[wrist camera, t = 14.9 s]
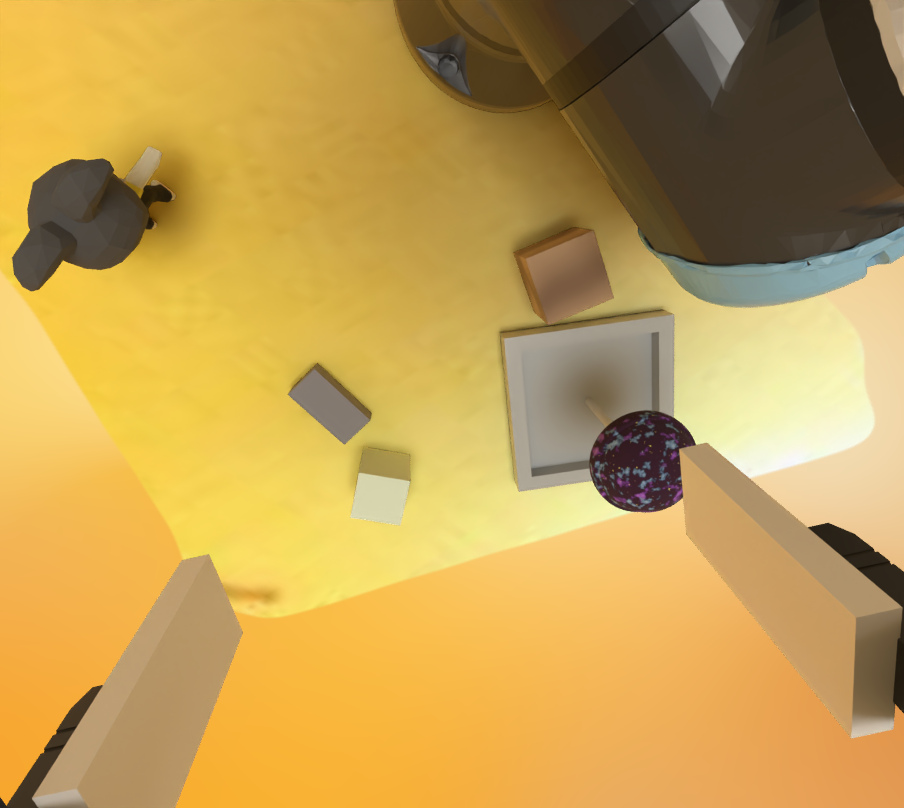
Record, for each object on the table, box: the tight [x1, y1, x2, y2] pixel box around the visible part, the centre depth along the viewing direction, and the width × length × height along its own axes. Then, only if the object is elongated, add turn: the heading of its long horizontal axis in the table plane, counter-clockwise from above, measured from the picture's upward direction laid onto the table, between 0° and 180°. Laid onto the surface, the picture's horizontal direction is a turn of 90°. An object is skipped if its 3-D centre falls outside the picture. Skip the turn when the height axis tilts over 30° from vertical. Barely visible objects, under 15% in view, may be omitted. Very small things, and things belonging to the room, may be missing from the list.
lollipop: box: [585, 398, 696, 512], centre depth 41 cm, size 7×7×15 cm
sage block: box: [350, 447, 410, 525], centre depth 48 cm, size 4×4×5 cm
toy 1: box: [12, 146, 176, 291], centre depth 35 cm, size 8×5×15 cm, turn 140°
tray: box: [500, 310, 674, 492], centre depth 48 cm, size 13×13×2 cm
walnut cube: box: [514, 227, 614, 325], centre depth 43 cm, size 5×5×5 cm
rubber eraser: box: [288, 363, 371, 444], centre depth 47 cm, size 6×3×2 cm, turn 43°
